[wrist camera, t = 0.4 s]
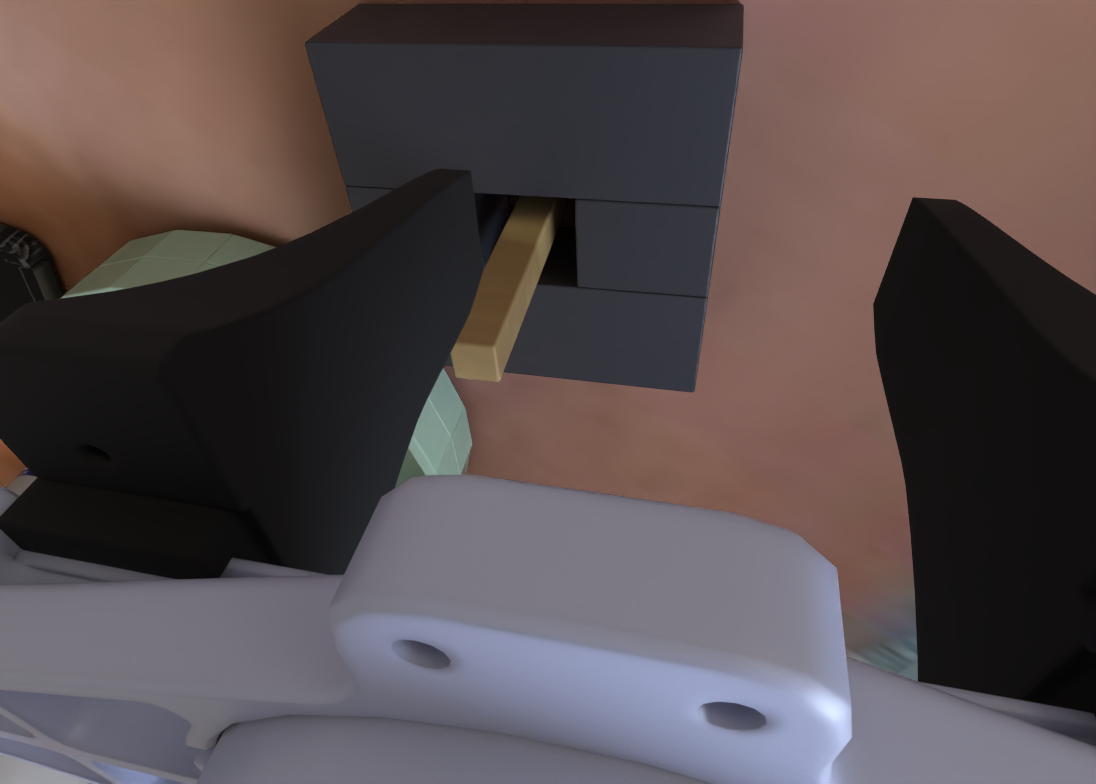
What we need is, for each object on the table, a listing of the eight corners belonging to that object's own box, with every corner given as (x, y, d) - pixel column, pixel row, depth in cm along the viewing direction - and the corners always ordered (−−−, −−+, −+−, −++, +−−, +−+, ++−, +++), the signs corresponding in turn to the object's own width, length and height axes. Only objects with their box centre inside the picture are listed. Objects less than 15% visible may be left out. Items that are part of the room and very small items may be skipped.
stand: (699, 329, 25) (694, 393, 23) (425, 304, 27) (394, 361, 25) (743, 3, 18) (743, 47, 15) (358, 3, 20) (303, 42, 17)
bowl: (494, 532, 38) (471, 603, 35) (200, 487, 42) (155, 548, 39) (438, 240, 25) (394, 313, 22) (13, 210, 28) (-78, 269, 25)
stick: (568, 203, 23) (500, 383, 16) (534, 201, 23) (453, 378, 17) (567, 170, 22) (494, 346, 16) (532, 168, 22) (446, 342, 16)
